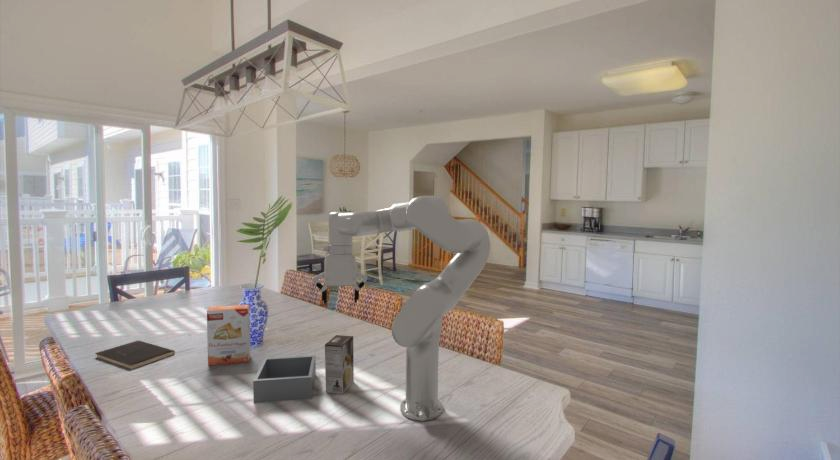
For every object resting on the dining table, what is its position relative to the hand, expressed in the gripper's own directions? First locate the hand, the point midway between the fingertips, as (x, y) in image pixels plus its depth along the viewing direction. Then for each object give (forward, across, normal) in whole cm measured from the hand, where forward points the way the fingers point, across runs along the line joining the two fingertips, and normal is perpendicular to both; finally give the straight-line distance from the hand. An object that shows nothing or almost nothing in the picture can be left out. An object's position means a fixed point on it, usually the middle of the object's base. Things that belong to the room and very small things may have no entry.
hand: (340, 302), depth 131 cm
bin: (+28, -17, +1) cm, 33 cm away
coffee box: (+29, 0, 0) cm, 29 cm away
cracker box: (+29, -42, +26) cm, 57 cm away
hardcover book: (+29, -79, +36) cm, 92 cm away
